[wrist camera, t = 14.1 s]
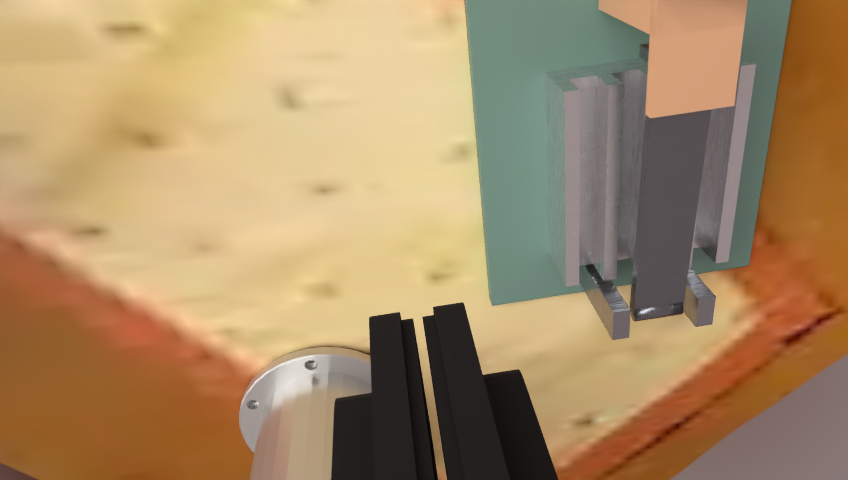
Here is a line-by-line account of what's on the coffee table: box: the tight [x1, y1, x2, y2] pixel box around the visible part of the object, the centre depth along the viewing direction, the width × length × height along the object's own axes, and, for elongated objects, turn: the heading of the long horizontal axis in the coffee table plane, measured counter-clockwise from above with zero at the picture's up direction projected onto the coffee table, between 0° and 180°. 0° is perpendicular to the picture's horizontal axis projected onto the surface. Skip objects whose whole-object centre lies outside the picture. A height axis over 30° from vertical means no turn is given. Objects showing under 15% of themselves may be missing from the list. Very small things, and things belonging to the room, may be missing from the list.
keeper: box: [598, 0, 748, 118], centre depth 31 cm, size 6×4×7 cm
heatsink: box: [544, 57, 756, 340], centre depth 36 cm, size 14×10×6 cm
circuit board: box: [464, 0, 792, 306], centre depth 38 cm, size 22×18×1 cm
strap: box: [630, 43, 711, 321], centre depth 34 cm, size 16×3×2 cm, turn 7°
